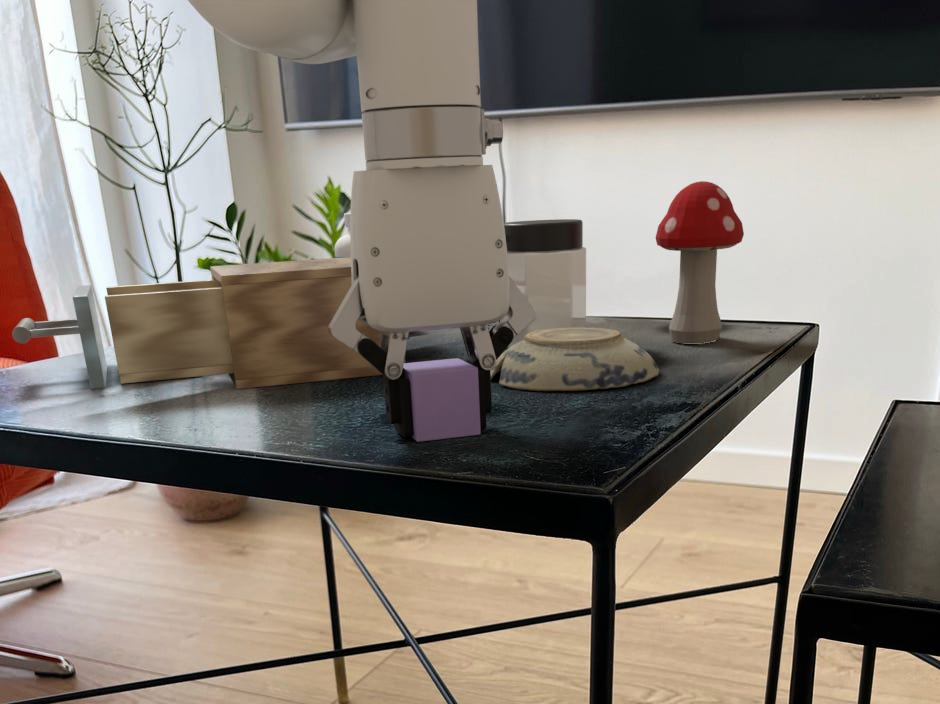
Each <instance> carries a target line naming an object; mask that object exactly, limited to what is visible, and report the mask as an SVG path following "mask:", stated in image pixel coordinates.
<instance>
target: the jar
mask: <svg viewBox="0 0 940 704" xmlns="http://www.w3.org/2000/svg"><path fill="white" fill-rule="evenodd" d="M583 225H584V224H583V219H576V218H573V219H572V218H571V219H570V218H569V219H568V218H565V219H563V218H562V219H559V218H558V219H537V220H535V219H534V220H518V221H508V222H504V229H505V237H506V246H507V255H508V267H509V276H510V277H511V279H512V280H513V282H514V283H515V284H516V286H517V287H518V288H519V290H520V291H521V293H522V294H523V295H524V297H525V298H526V299H527V301H528V302H529V304H530V305H531V306H532V308H533V309H534V311H535V313H536V316H535V319H534V320H533V321H532V322H531V323H530V324H529V325H528V326H527V327H526V328H525V329H524V330H523V331H521V332H520V333H519V334H518V335H516V336H515V337H514V338H513V340H512V342H511V343H510V344H509V346H508V347H507V348H506V349H505V350H507V349H508V348H510V347H511V346H513V345H515V344H516V343H518V342H520V341H522V340H524V337H525V335H526V334H528V333H530V332H533V331H539V330H545V329H555V328H574V327H587V247H585V246H584V245H583V243H584V241H583V237H584V236H583V232H584V231H583V228H584V227H583ZM502 319H503V318H502ZM502 319H501V320H499V323H500V322H501V321H502Z"/></svg>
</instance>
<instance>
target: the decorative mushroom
mask: <svg viewBox="0 0 940 704" xmlns="http://www.w3.org/2000/svg"><path fill="white" fill-rule="evenodd" d="M744 235H745V233H744V226H743V222H742V220H741V218H740V217H739V215H738V214H737V212H736V211H735V209H734V205H733V203H732V201H731V198H730V197H729V195H728V193H727V192H726V191H725V190H724V189H723V188H722V187H721V186H719V185H718V184H716V183H713V182H710V181H705V180H704V181H703V180H702V181H695V182H692V183H689V184H688V185H686V186H685V187H683V188H682V189H681V190H679V192H678V193H677V194H676V195H675V196H674V197H673V199H672V201H671V202H670V204H669V206H668V209H667V212H666V214H665V215H664V217H663V218H662V220H661V221H660V223H659V224H658V226H657V230H656V233H655V241H656V245H657V246H658V247H661V248H662V249H665V250H667V251H677V252H680V253H679V255H680V257H679V281H678V282H679V283H678V291H677V297H676V303H675V308H674V311H673V315H672V317H671V320H670V323H669V326H668V331H669V336H670V340H671V342H672V341H673V342H677V343H704V342H705V343H706V342H711V341H714V340H717V339H718V340H719V339H720V335H721V333H722V329H723V323H722V321H721V317H720V313H719V309H718V301H717V289H716V282H717V281H716V280H717V263H718V262H717V260H718V250H724V249H730V248H732V247H735V246H736V245H738V244H740V243H742V241H743V238H744ZM673 342H672V343H673ZM677 343H676V344H677Z"/></svg>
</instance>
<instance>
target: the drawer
mask: <svg viewBox="0 0 940 704" xmlns="http://www.w3.org/2000/svg"><path fill="white" fill-rule="evenodd" d="M105 289H106V294H107V295H105V296H104V301H105V306H106V311H107V317H108V323H109V329H110V334H111V339H112V344H113V348H114V353H115V360H116V365H117V371H118V375H119V382H120V384H122V385H123V384H133V383H145V382H155V381H165V380H176V379H187V378H198V377H207V376H219V375H229V374H231V373H234V370H233V362H232V355H231V348H230V341H229V334H228V327H227V320H226V313H225V306H224V299H223V292H222V284H221V283H220V282H218V281H217V280H216V279H213V280H212V279H201V280H198V279H197V280H186V281H185V280H183V281H173V282H172V281H171V282H158V283H155V282H154V283H143V284H128V285H115V286H106V288H105ZM72 302H73V306H74V312H75V317H76V318H71V319H70V318H69V319H58V320H57V319H56V320H44V321H35V320H33V319H32V318H30V317H25V318H22V319H20V321H19V322H18V324H17V325H16V326H15V327H14V328H13V330H12V333H11V335H12V338H13V340H14V341H15V342H16V343H18V344H21V345H22V344H27V343H28V342H29V341H30V340H31V338H32V339H34V338H46V337H58V336H69V335H70V336H71V335H79V337H80V341H81V346H82V351H83V356H84V362H85V366H86V367H85V368H86V371H87V377H88V382H89V387H90V389H91V390H95V389H104V388H106V386H107V377H108V376H107V374H108V365H107V360H106V354H105V349H104V342H103V338H102V334H101V332H102V331H101V328H100V323H99V318H98V317H99V316H98V312H97V307H96V301H95V296H94V291H93V286H92V285H91V284H87V285H78V286H77V288H76V290H75V292H74V294H73V295H72Z"/></svg>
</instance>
